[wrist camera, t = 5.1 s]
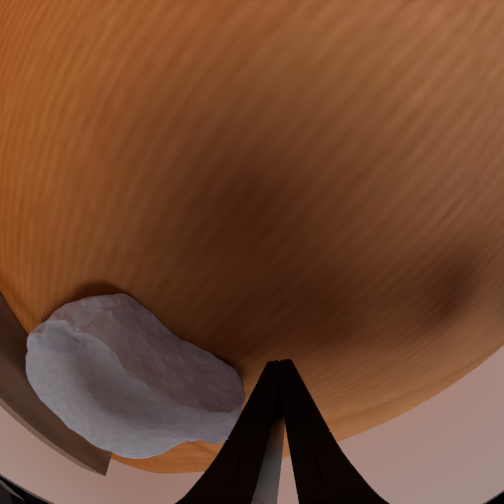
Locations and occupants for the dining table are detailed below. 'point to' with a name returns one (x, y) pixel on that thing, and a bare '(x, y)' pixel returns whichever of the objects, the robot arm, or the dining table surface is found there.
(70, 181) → the dining table surface
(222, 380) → the stone block
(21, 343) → the board
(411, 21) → the dining table surface
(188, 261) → the dining table surface
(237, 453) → the robot arm
